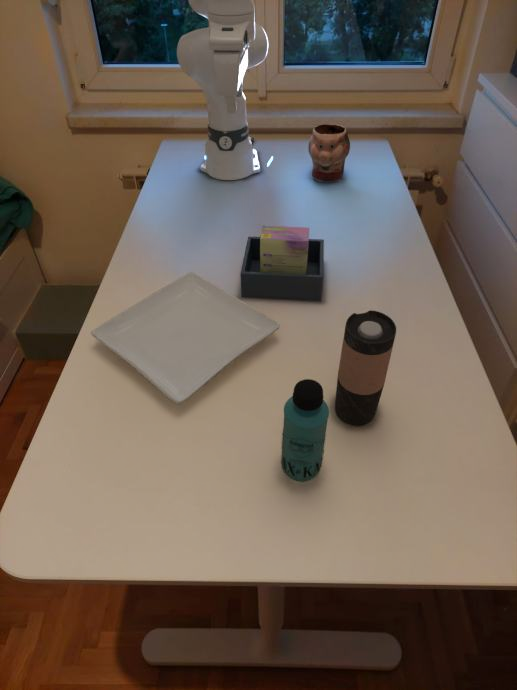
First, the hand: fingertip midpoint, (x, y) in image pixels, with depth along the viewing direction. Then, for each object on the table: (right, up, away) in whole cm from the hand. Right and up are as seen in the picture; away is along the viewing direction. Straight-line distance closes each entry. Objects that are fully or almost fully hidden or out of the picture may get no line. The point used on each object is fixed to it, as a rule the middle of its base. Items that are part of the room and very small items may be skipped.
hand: (235, 103), depth 106 cm
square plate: (-9, -50, -4) cm, 51 cm away
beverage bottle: (+12, -71, -26) cm, 77 cm away
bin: (+11, -36, +10) cm, 39 cm away
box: (+11, -36, +10) cm, 38 cm away
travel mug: (+22, -63, -18) cm, 69 cm away
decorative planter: (+26, +2, +48) cm, 55 cm away
